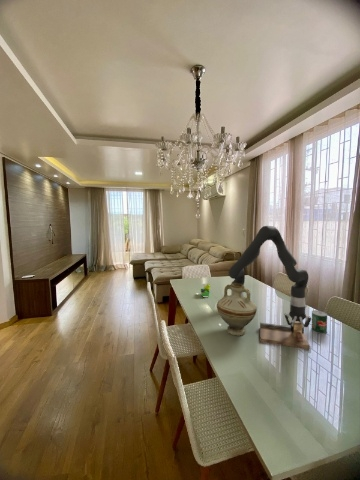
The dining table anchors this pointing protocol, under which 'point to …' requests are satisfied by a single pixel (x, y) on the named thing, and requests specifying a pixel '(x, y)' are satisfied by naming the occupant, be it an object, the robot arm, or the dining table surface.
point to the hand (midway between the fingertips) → (297, 332)
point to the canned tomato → (319, 321)
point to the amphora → (236, 309)
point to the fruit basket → (205, 290)
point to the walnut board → (281, 336)
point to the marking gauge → (298, 330)
